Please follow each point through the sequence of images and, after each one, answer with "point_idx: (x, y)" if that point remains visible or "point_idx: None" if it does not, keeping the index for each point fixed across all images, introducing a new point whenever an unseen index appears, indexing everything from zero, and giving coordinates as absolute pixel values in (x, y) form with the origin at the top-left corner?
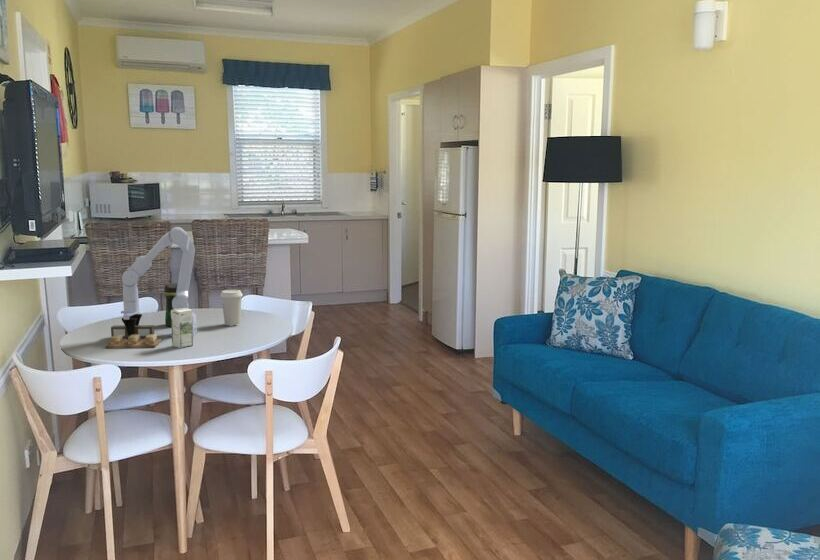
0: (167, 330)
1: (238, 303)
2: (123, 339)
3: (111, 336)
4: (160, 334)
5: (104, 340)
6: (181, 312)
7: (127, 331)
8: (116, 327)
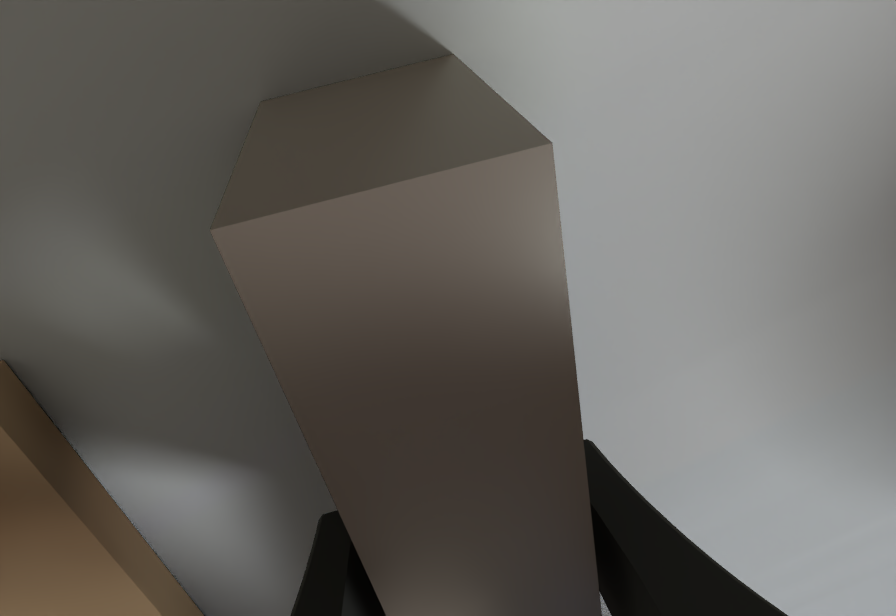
0: (883, 567)
1: None
2: (84, 532)
3: (258, 117)
4: None
5: (9, 17)
6: None
7: (305, 584)
8: (299, 406)
